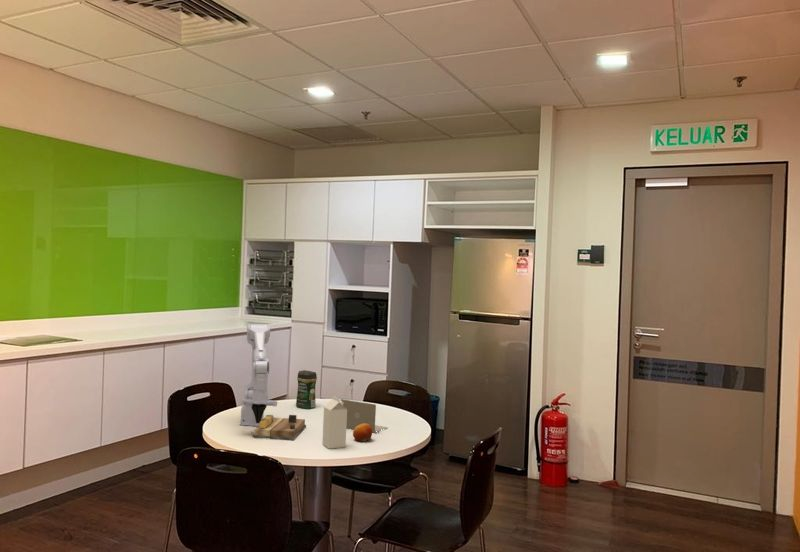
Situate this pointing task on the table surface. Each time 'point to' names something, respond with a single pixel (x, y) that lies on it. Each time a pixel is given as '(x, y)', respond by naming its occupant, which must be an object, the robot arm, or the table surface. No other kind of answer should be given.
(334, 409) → the milk carton
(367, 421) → the laptop
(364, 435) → the fruit
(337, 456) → the table surface
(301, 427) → the wooden board with knob
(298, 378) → the coffee jar
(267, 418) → the bar
